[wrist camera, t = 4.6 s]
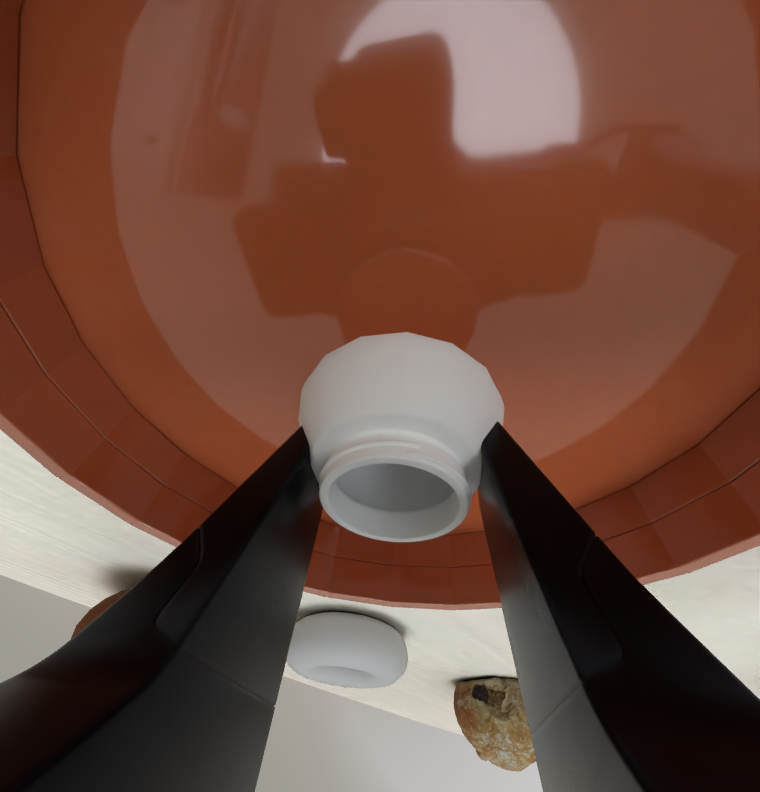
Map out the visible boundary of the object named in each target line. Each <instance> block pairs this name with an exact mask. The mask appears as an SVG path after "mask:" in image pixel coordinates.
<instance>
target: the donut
mask: <svg viewBox="0 0 760 792" xmlns="http://www.w3.org/2000/svg"><path fill="white" fill-rule="evenodd" d="M286 661H287V663H288V665H289V666H290V667H291V668H292V669H293V670H294V671H295V672H296V673H297V674H299V675H301V676H303V677H305V678H307V679H311V680H314V681H317V682H321V683H325V684H329V685H335V686H342V687H351V688H380V687H385V686H388V685H391V684H393V683H395V682H396V681H397V680H398V679H399V678H400V677H401V676H402V675H403V674H404V672H405V669H406V667H407V662H408V655H407V648H406V645H405V642H404V639H403V638H402V636H401V635H400V634H399V633H398V632H397V631H396V630H395V629H394V628H393V627H391V626H390V625H388V624H386V623H384V622H382V621H380V620H378V619H374V618H371V617H368V616H364V615H359V614H353V613H345V612H323V613H317V614H313V615H310V616H306V617H304V618H302V619H301V620H300V621H298V622H297V623H296V624H295V626H294V631H293V635H292V639H291V643H290V647H289V651H288V655H287V659H286Z"/></svg>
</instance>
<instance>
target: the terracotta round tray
mask: <svg viewBox="0 0 760 792" xmlns="http://www.w3.org/2000/svg"><path fill="white" fill-rule="evenodd" d="M401 332H409V333H413V334H417V335H421V336H425V337H429V338H433V339H437V340H441V341H445V342H449V343H453V344H454V345H455V346H457V347H458V348H460V349H461V350H462V351H464V352H465V353H466V354H468V355H469V356H471V357H472V358H473V359H475V360H476V361H478V362H479V363H480V364H482V365H483V366H485V367H486V369H487V370H488V372H489V374H490V376H491V378H492V380H493V382H494V384H495V386H496V388H497V390H498V392H499V394H500V395H501V397H502V401H503V404H504V420H503V427H504V429H505V430H506V431H507V432H508V433H509V434H510V435H511V437H512V438H513V439H514V440H515V441H516V442H517V443H518V445H519V446H520V447H521V448H522V449H523V450H524V452H525V453H526V454H527V455H528V456H529V457H530V458H531V460H532V461H533V462H534V463H535V464H536V465H537V466H538V468H539V469H540V470H541V471H542V472H543V473H544V474H545V476H546V477H547V478H548V479H549V480H550V481H551V483H552V484H553V485H554V486H555V487H556V488H557V489H558V491H559V492H560V493H561V494H562V495H563V496H564V497H565V499H566V500H567V501H568V502H569V503H570V504H571V506H572V507H573V508H574V509H575V510H576V511H577V512H578V514H579V515H580V516H581V517H582V518H583V519H584V520H585V522H586V523H587V524H588V525H589V526H590V527H591V528H592V530H593V531H594V532H595V536H598V537H600V539H601V540H602V541H603V542H604V543H605V544H606V546H607V547H608V548H609V549H610V550H611V551H612V553H613V554H614V555H615V556H616V557H617V558H618V559H619V560H620V561H621V562H622V564H623V565H624V566H625V567H626V568H627V569H628V570H629V571H630V572H631V573H632V575H633V576H634V577H635V578H636V579H637V580H638V581H639V582H640V583H641V584H642V585H644V584H648V583H652V582H656V581H659V580H663V579H667V578H671V577H675V576H679V575H683V574H685V573H690V572H693V571H695V570H698V569H700V568H703V567H705V566H708V565H711V564H713V563H716V562H718V561H721V560H724V559H726V558H729V557H731V556H734V555H736V554H739V553H742V552H744V551H747V550H749V549H752V548H755V547H757V546H760V0H0V429H1V430H2V431H3V432H4V433H5V434H6V435H8V436H9V437H10V438H11V439H12V440H14V441H15V442H16V443H17V444H18V445H19V446H21V447H22V448H23V449H24V450H25V451H26V452H28V453H29V454H30V455H31V456H32V457H34V458H35V459H36V460H37V461H38V462H39V463H41V464H42V465H43V466H44V467H45V468H46V469H48V470H49V471H50V472H51V473H52V474H54V475H55V476H56V477H59V479H61V480H62V481H64V482H65V483H67V484H69V485H70V486H72V487H73V488H75V489H76V490H78V491H79V492H81V493H82V494H84V495H86V496H87V497H89V498H90V499H92V500H93V501H95V502H96V503H98V504H99V505H101V506H103V507H104V508H106V509H107V510H109V511H110V512H112V513H113V514H115V515H116V516H118V517H120V518H121V519H123V520H124V521H126V522H127V523H129V524H131V525H132V526H135V527H137V528H139V529H141V530H143V531H145V532H147V533H149V534H151V535H153V536H155V537H157V538H159V539H161V540H163V541H165V542H167V543H169V544H171V545H173V546H175V547H178V546H179V545H180V544H181V543H182V542H183V541H184V540H185V539H186V538H187V537H188V536H189V535H190V534H191V533H192V532H193V531H194V530H195V529H196V528H200V525H201V524H202V523H203V522H204V521H205V520H206V519H207V518H208V517H209V516H210V515H211V514H212V513H213V512H214V511H215V510H216V509H217V508H218V507H219V506H220V505H221V504H222V503H223V502H224V501H225V500H226V499H227V498H228V497H229V496H230V495H231V494H232V493H233V492H234V491H235V490H236V489H237V488H238V487H239V486H240V485H241V484H242V483H243V482H244V481H245V480H246V479H247V478H248V477H250V476H251V475H252V474H253V473H254V472H255V471H256V470H257V469H258V468H259V467H260V466H261V465H262V464H263V463H264V462H265V461H266V460H267V459H268V458H269V457H270V456H271V455H272V454H273V453H274V452H275V451H276V450H277V449H278V448H279V447H280V446H281V445H282V444H283V443H284V442H285V441H286V440H287V439H288V438H289V437H290V436H291V435H292V434H293V433H294V432H295V431H297V430H298V429H299V428H300V424H299V420H298V418H299V409H300V399H301V390H302V388H303V386H304V383H305V381H306V380H307V379H308V377H309V376H310V375H311V373H312V372H313V371H314V369H315V368H316V367H317V365H318V364H319V363H320V361H321V360H322V358H323V357H324V356H325V355H326V354H328V353H330V352H332V351H334V350H336V349H338V348H340V347H342V346H344V345H346V344H348V343H349V342H351V341H353V340H355V339H357V338H359V337H362V336H372V335H382V334H391V333H401ZM303 591H304V592H307V593H311V594H315V595H319V596H323V597H326V596H327V597H329V598H336V599H343V600H349V601H356V602H363V603H369V604H376V605H383V606H390V607H404V608H423V609H443V610H467V609H489V608H502V605H501V601H500V596H499V592H498V587H497V583H496V578H495V574H494V570H493V565H492V561H491V556H490V552H489V547H488V543H487V538H486V534H485V529H484V525H483V521H482V516H481V511H480V505H479V498H478V489H477V490H476V492H475V493H474V494H473V496H472V502H471V506H470V508H469V511H468V513H467V515H466V517H465V519H464V520H463V521H462V523H461V524H460V525H459V526H457V527H456V528H455V529H453V530H452V531H450V532H448V533H446V534H444V535H442V536H439V537H436V538H433V539H429V540H424V541H417V542H389V541H382V540H377V539H372V538H368V537H365V536H362V535H359V534H357V533H354V532H352V531H350V530H348V529H346V528H344V527H342V526H341V525H339V524H338V523H337V522H335V521H334V520H333V519H332V518H331V517H330V516H329V515H328V514H327V513H326V511H325V510H324V508H323V511H322V515H321V519H320V523H319V528H318V532H317V536H316V540H315V544H314V548H313V552H312V556H311V560H310V565H309V569H308V573H307V577H306V581H305V585H304V589H303Z"/></svg>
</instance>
